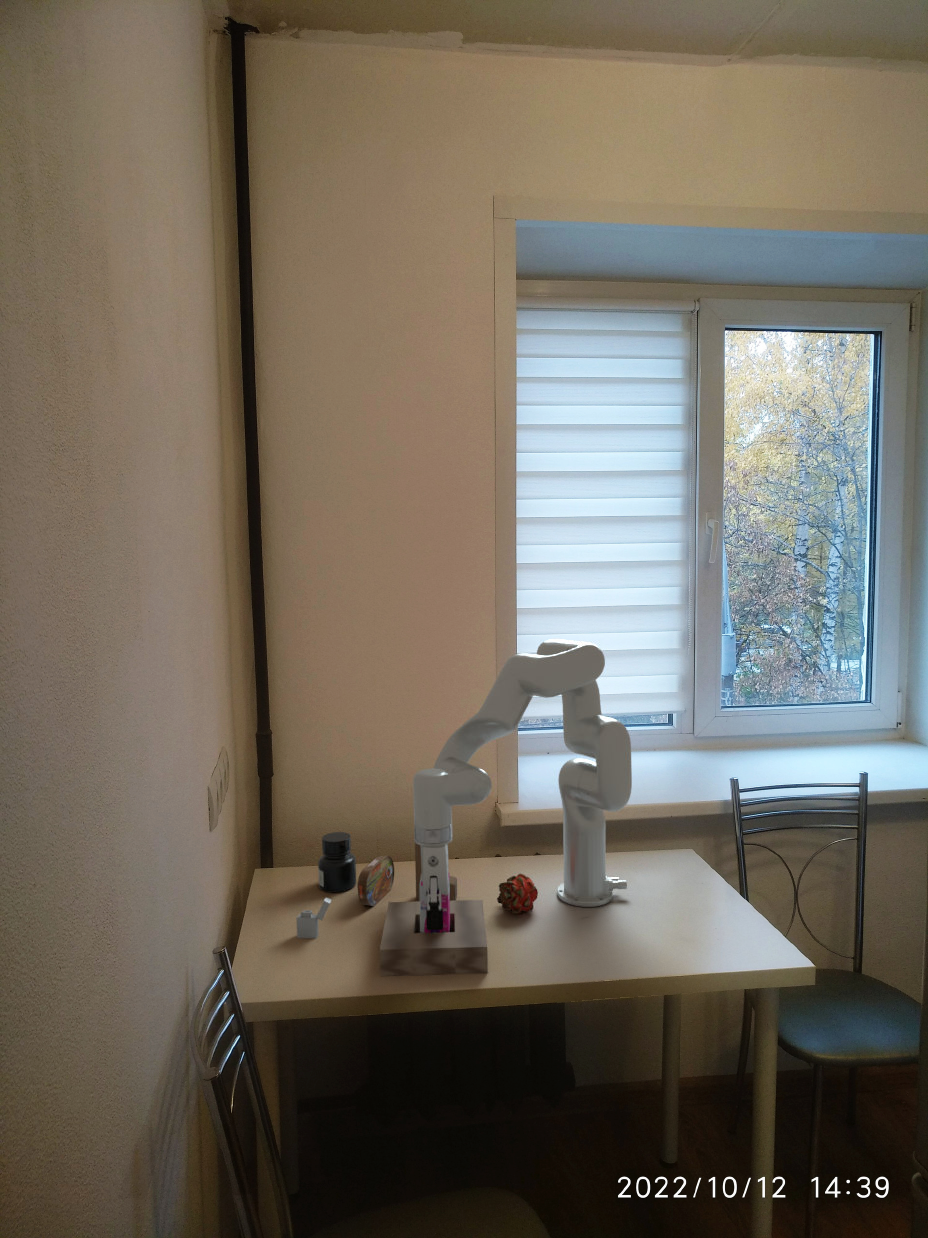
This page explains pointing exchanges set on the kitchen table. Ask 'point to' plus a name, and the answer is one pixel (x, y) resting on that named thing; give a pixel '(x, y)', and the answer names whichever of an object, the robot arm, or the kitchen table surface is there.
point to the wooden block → (419, 870)
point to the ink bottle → (337, 863)
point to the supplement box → (444, 905)
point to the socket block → (434, 941)
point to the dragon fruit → (517, 894)
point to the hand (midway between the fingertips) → (435, 920)
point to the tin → (375, 880)
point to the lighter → (310, 921)
